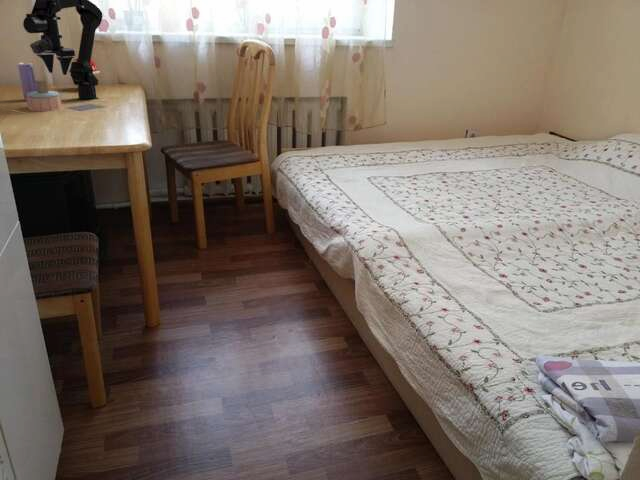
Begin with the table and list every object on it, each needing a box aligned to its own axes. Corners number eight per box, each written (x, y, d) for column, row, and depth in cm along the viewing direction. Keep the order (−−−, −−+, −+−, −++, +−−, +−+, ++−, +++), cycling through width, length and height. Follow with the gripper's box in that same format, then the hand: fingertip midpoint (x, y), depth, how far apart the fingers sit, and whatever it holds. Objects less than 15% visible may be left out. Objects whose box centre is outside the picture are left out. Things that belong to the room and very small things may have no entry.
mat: (90, 104, 222) (90, 103, 221) (106, 107, 217) (106, 106, 217) (64, 108, 212) (64, 107, 212) (80, 111, 208) (80, 110, 207)
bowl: (50, 105, 218) (48, 92, 216) (68, 108, 213) (66, 95, 210) (22, 109, 209) (19, 96, 207) (40, 113, 203) (38, 99, 201)
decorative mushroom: (70, 88, 259) (65, 55, 252) (101, 87, 264) (96, 55, 258) (71, 92, 247) (66, 58, 241) (103, 91, 253) (99, 58, 246)
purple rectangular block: (33, 101, 224) (26, 64, 218) (21, 100, 225) (13, 63, 219) (43, 99, 229) (36, 63, 223) (30, 98, 231) (24, 62, 224)
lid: (47, 92, 216) (45, 77, 213) (64, 95, 210) (62, 80, 208) (21, 96, 207) (18, 80, 204) (38, 99, 202) (35, 83, 199)
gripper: (17, 31, 205) (25, 73, 212) (46, 34, 196) (53, 78, 203) (44, 30, 214) (50, 71, 220) (72, 33, 205) (79, 75, 211)
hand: (57, 73), depth 213 cm, fingers open, 9 cm apart
